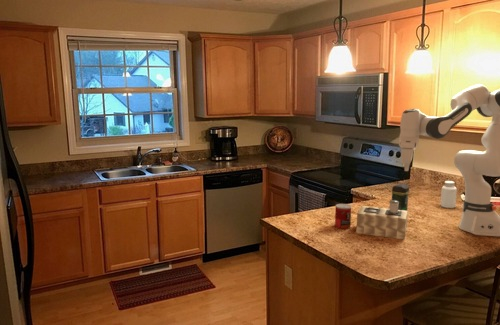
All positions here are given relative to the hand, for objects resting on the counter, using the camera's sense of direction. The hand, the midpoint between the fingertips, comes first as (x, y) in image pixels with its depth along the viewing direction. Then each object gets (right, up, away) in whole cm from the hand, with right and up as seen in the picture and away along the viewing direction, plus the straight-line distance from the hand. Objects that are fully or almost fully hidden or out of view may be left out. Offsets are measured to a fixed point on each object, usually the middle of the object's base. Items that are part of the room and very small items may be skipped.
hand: (406, 170), depth 203 cm
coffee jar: (+4, -26, +21) cm, 34 cm away
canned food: (-30, -29, +7) cm, 42 cm away
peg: (-8, -24, -4) cm, 26 cm away
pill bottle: (+40, -22, +42) cm, 62 cm away
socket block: (-13, -30, -1) cm, 32 cm away
